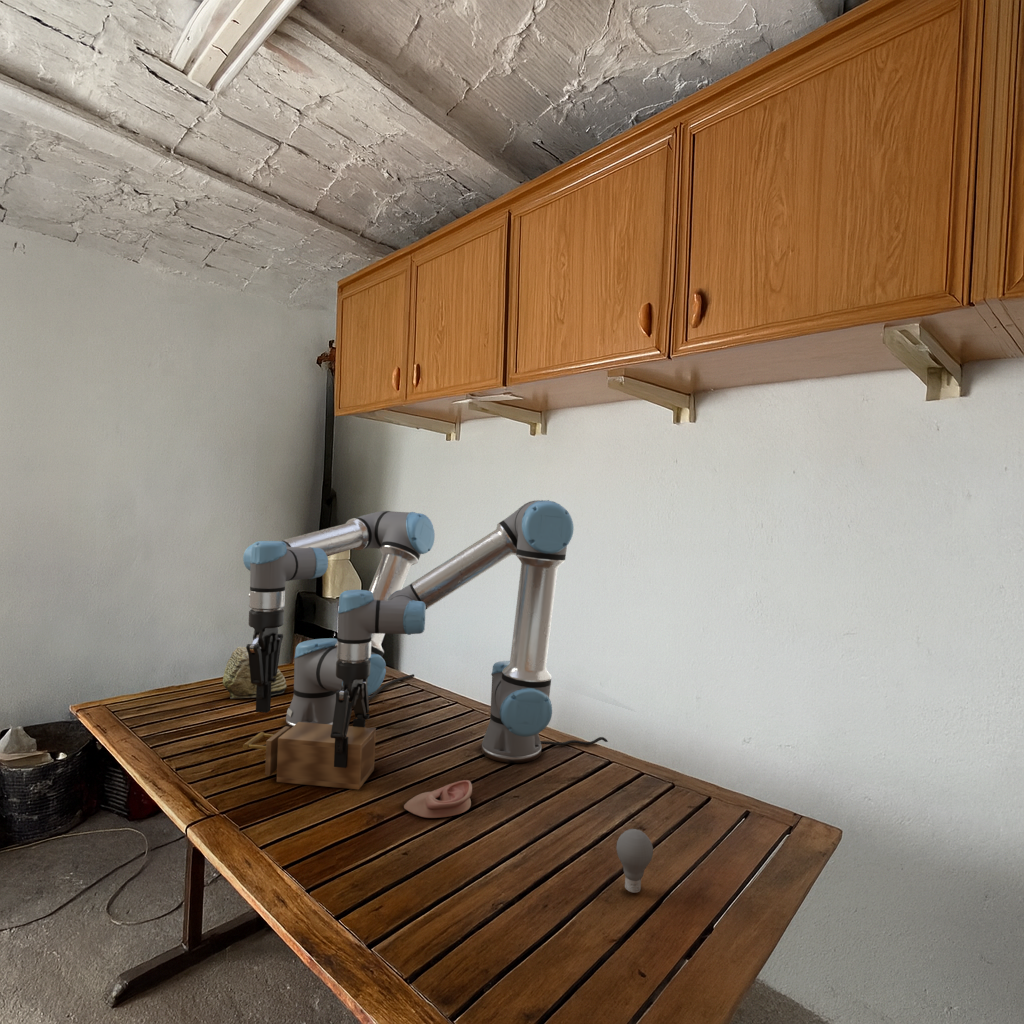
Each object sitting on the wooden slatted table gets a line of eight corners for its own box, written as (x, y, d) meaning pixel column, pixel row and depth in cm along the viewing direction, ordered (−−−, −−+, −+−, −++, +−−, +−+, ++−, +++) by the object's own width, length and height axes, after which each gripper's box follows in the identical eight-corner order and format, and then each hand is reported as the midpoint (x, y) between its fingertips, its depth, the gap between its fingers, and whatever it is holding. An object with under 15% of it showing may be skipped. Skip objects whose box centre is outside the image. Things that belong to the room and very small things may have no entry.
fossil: (218, 695, 195) (220, 647, 195) (278, 685, 208) (279, 640, 207) (228, 703, 189) (230, 653, 188) (289, 692, 201) (290, 645, 201)
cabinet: (276, 782, 140) (278, 738, 139) (297, 762, 150) (298, 721, 150) (358, 789, 138) (360, 745, 137) (374, 769, 148) (375, 728, 148)
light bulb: (610, 879, 108) (613, 822, 108) (644, 879, 109) (647, 822, 109) (619, 902, 102) (622, 840, 102) (655, 901, 103) (658, 840, 103)
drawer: (239, 772, 141) (241, 738, 141) (260, 756, 150) (261, 724, 150) (340, 782, 139) (341, 747, 139) (355, 764, 148) (356, 732, 148)
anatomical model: (398, 794, 127) (418, 771, 139) (398, 814, 128) (417, 789, 139) (462, 803, 125) (477, 779, 136) (461, 823, 125) (476, 797, 136)
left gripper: (265, 603, 152) (261, 701, 152) (235, 612, 139) (231, 719, 139) (295, 605, 151) (291, 703, 151) (268, 614, 138) (264, 722, 138)
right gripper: (355, 646, 155) (351, 736, 155) (316, 671, 132) (312, 776, 132) (385, 648, 154) (381, 739, 154) (351, 674, 131) (347, 780, 131)
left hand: (263, 711), depth 145 cm, fingers closed
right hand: (349, 756), depth 143 cm, fingers closed on cabinet, 10 cm apart
